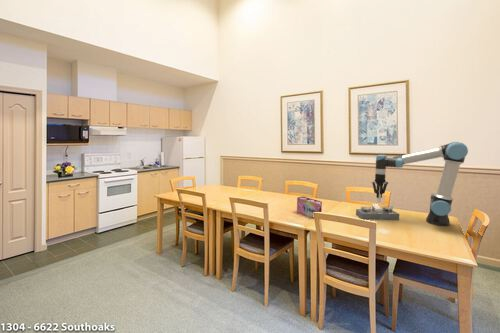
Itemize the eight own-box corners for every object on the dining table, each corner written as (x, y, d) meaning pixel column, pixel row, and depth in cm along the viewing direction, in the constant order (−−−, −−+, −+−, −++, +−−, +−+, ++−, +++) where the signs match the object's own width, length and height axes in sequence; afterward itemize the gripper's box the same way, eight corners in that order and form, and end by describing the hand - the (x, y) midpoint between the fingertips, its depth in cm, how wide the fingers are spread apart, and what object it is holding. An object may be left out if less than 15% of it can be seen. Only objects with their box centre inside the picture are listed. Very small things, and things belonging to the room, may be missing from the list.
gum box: (323, 217, 219) (323, 202, 217) (316, 219, 215) (316, 203, 213) (302, 210, 239) (303, 196, 237) (296, 212, 234) (296, 197, 233)
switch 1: (366, 209, 224) (366, 206, 225) (371, 209, 216) (371, 206, 216) (361, 209, 225) (360, 206, 225) (365, 209, 216) (365, 206, 216)
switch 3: (387, 209, 224) (387, 207, 224) (393, 209, 215) (392, 206, 216) (382, 209, 224) (381, 207, 224) (387, 208, 215) (386, 206, 216)
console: (390, 214, 226) (391, 205, 225) (399, 219, 213) (399, 210, 212) (355, 214, 227) (356, 205, 226) (362, 219, 213) (362, 210, 212)
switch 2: (377, 205, 224) (377, 203, 223) (381, 212, 216) (382, 210, 215) (371, 205, 225) (371, 203, 224) (375, 212, 217) (376, 210, 216)
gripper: (386, 173, 217) (384, 200, 219) (370, 173, 217) (369, 200, 220) (390, 174, 209) (389, 202, 212) (374, 174, 209) (372, 202, 212)
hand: (378, 201), depth 216 cm, fingers closed
